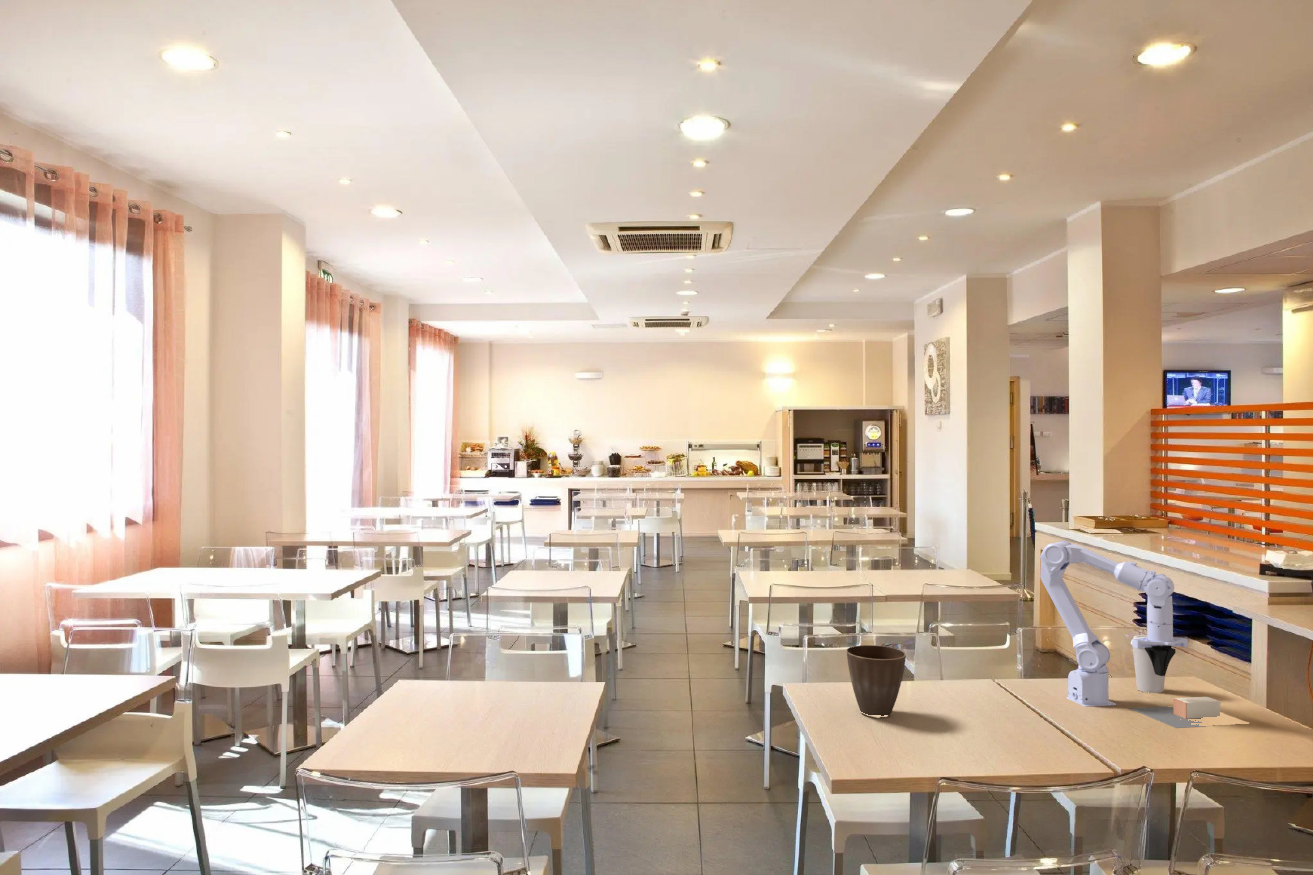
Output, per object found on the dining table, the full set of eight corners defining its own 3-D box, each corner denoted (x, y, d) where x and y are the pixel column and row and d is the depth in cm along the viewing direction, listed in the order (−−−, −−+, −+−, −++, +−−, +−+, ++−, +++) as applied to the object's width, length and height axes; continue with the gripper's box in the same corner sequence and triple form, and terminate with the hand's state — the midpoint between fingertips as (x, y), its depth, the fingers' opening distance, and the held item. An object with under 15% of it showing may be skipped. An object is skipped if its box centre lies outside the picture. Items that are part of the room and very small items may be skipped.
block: (1185, 702, 208) (1220, 701, 210) (1173, 698, 212) (1207, 696, 214) (1185, 718, 208) (1220, 716, 210) (1173, 713, 212) (1207, 712, 214)
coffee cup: (1123, 688, 237) (1122, 636, 237) (1145, 684, 241) (1144, 633, 241) (1155, 697, 228) (1155, 642, 229) (1177, 693, 232) (1177, 639, 233)
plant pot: (918, 719, 208) (918, 655, 208) (869, 726, 202) (869, 660, 202) (881, 702, 221) (881, 643, 222) (834, 708, 216) (834, 647, 216)
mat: (1176, 729, 201) (1176, 727, 201) (1128, 709, 217) (1128, 708, 217) (1254, 725, 204) (1254, 723, 204) (1202, 706, 220) (1202, 704, 220)
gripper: (1146, 626, 208) (1146, 680, 208) (1197, 624, 210) (1197, 678, 210) (1126, 620, 215) (1126, 672, 215) (1175, 619, 217) (1175, 670, 217)
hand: (1160, 674), depth 213 cm, fingers closed
